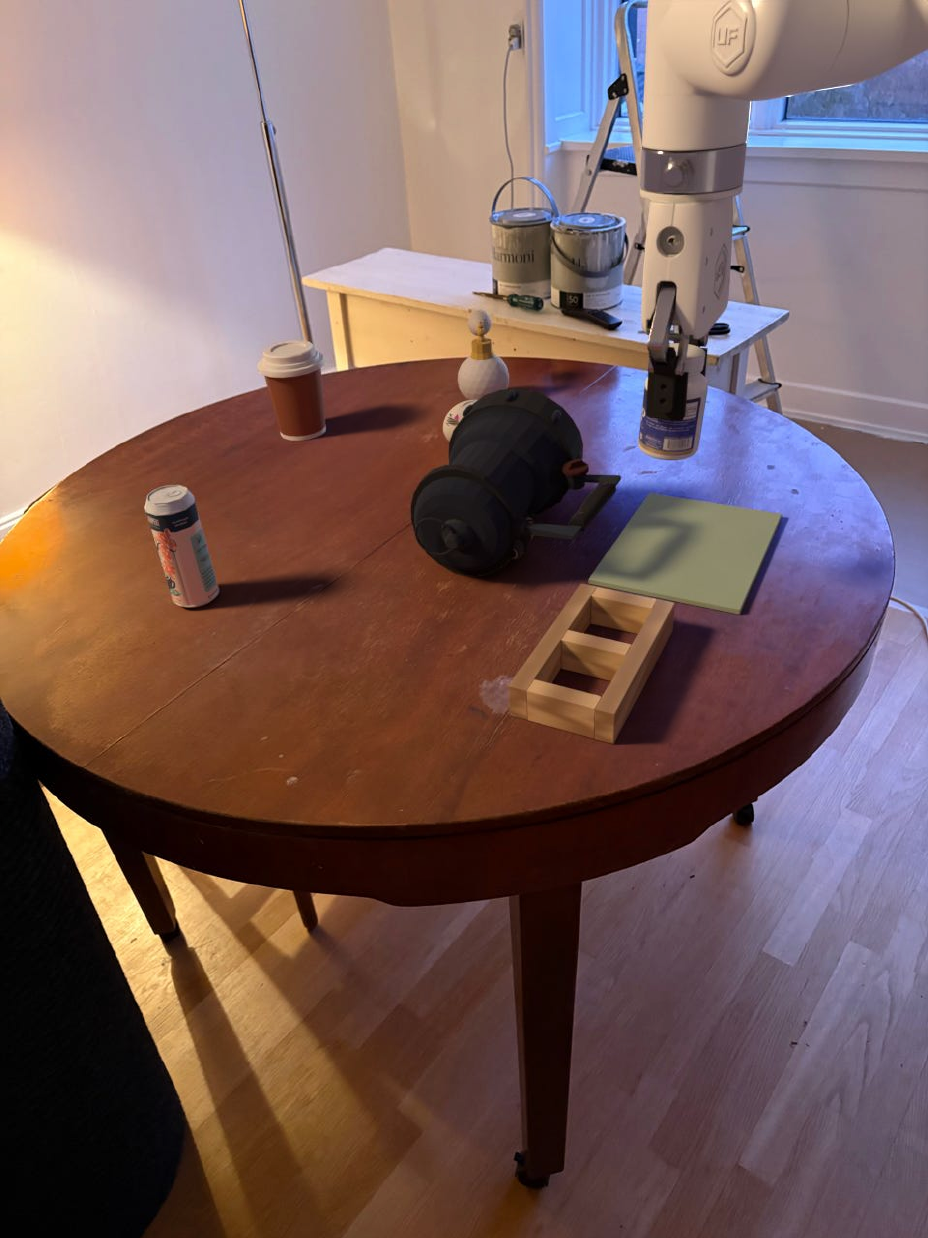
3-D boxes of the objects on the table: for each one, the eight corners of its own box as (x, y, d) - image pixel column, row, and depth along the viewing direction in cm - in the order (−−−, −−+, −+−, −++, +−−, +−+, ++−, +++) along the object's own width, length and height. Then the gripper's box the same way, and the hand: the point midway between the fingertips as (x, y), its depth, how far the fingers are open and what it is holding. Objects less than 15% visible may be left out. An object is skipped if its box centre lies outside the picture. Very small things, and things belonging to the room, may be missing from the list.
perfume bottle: (472, 414, 128) (467, 330, 121) (445, 394, 135) (438, 314, 128) (519, 403, 130) (516, 320, 123) (489, 383, 137) (485, 304, 130)
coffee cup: (341, 418, 130) (328, 336, 123) (327, 444, 122) (312, 358, 115) (281, 419, 131) (265, 338, 124) (263, 445, 123) (245, 360, 117)
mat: (781, 518, 97) (782, 513, 97) (739, 615, 83) (740, 609, 83) (648, 497, 104) (648, 492, 103) (588, 583, 89) (588, 578, 89)
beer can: (172, 591, 93) (141, 488, 86) (218, 581, 94) (191, 479, 87) (174, 615, 90) (141, 509, 83) (222, 604, 90) (193, 499, 84)
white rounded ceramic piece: (464, 466, 113) (460, 417, 110) (434, 453, 117) (430, 405, 114) (510, 447, 117) (508, 398, 114) (480, 435, 121) (477, 387, 118)
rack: (672, 631, 82) (675, 602, 80) (613, 744, 70) (614, 713, 68) (580, 611, 85) (580, 583, 84) (509, 715, 74) (508, 685, 72)
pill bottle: (649, 431, 82) (662, 335, 77) (705, 443, 80) (722, 346, 74) (628, 453, 78) (639, 354, 73) (685, 467, 76) (701, 366, 71)
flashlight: (466, 491, 107) (631, 507, 101) (399, 595, 92) (588, 621, 86) (453, 377, 98) (633, 386, 92) (376, 471, 83) (585, 490, 77)
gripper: (714, 194, 58) (692, 450, 69) (766, 153, 71) (741, 375, 81) (605, 193, 61) (600, 438, 72) (673, 153, 74) (661, 367, 84)
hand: (675, 402), depth 76 cm, fingers closed on pill bottle, 5 cm apart
